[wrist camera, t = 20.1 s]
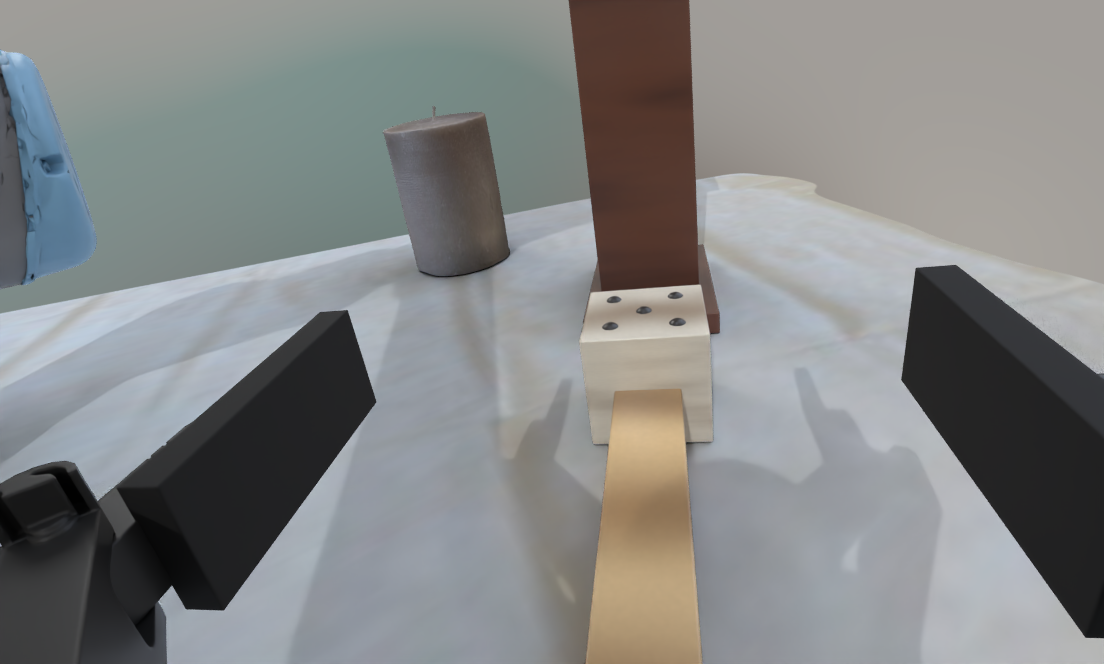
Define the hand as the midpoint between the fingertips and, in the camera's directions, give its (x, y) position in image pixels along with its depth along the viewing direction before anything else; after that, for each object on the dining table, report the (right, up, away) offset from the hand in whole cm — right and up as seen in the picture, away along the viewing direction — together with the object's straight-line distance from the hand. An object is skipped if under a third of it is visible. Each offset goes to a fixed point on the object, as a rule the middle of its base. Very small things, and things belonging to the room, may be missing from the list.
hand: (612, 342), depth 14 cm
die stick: (+3, -8, +11) cm, 14 cm away
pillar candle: (-10, +7, +48) cm, 49 cm away
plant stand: (+6, +3, +32) cm, 33 cm away
